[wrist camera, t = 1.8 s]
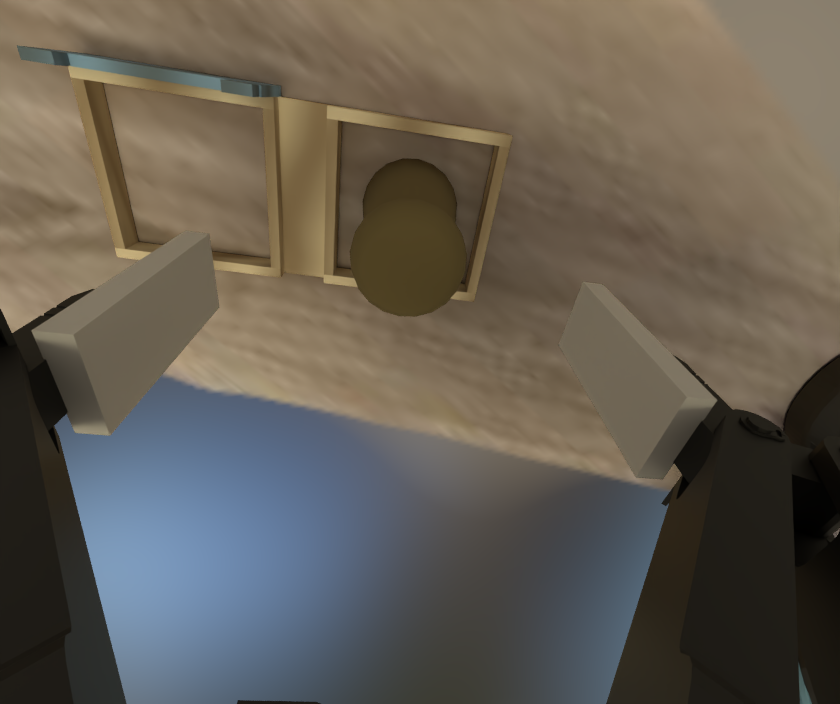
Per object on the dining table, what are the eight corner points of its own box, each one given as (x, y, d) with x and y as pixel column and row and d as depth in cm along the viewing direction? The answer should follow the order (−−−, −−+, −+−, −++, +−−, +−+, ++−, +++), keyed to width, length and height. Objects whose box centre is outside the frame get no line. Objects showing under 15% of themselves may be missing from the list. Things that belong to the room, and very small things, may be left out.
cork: (353, 165, 25) (317, 209, 16) (452, 151, 24) (476, 187, 15) (372, 261, 28) (352, 344, 19) (460, 249, 28) (484, 328, 18)
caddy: (509, 123, 24) (528, 130, 20) (471, 292, 29) (479, 322, 26) (84, 53, 22) (14, 45, 18) (131, 249, 27) (85, 274, 24)
